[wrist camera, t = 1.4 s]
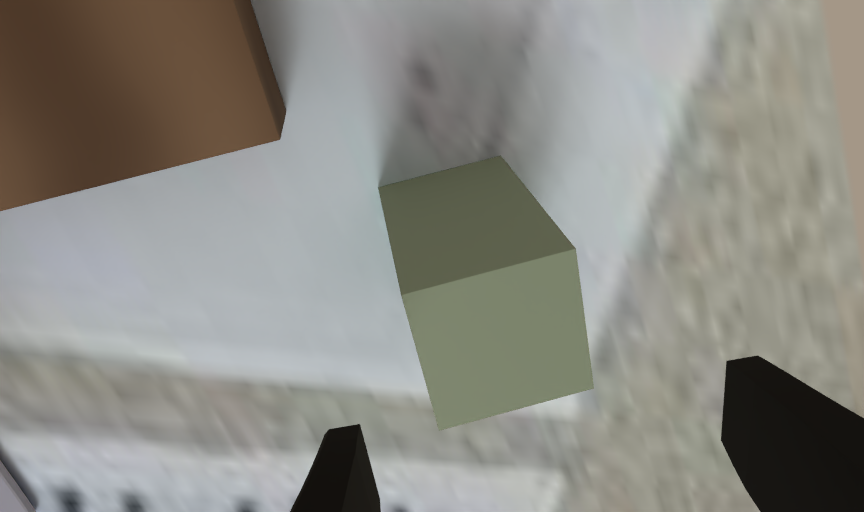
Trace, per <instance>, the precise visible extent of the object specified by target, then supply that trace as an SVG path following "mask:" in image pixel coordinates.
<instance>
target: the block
mask: <svg viewBox="0 0 864 512" xmlns="http://www.w3.org/2000/svg"><path fill="white" fill-rule="evenodd" d="M378 189H379V194H380V198H381V203H382V208H383V212H384V217H385V222H386V226H387V231H388V236H389V240H390V245H391V250H392V254H393V259H394V264H395V268H396V273H397V278H398V282H399V287H400V291H401V296H402V299H403V303H404V307H405V310H406V314H407V317H408V321H409V325H410V328H411V332H412V335H413V339H414V343H415V346H416V350H417V353H418V357H419V360H420V364H421V368H422V371H423V375H424V378H425V382H426V386H427V389H428V393H429V396H430V400H431V404H432V407H433V411H434V414H435V418H436V421H437V425H438V429H439V431H440V430H443V429H447V428H451V427H454V426H458V425H462V424H465V423H469V422H473V421H476V420H480V419H484V418H487V417H491V416H494V415H498V414H502V413H505V412H509V411H513V410H516V409H520V408H524V407H527V406H531V405H535V404H538V403H542V402H546V401H549V400H553V399H557V398H560V397H564V396H568V395H571V394H575V393H578V392H582V391H586V390H589V389H593V388H594V385H593V378H592V370H591V362H590V354H589V347H588V339H587V331H586V324H585V316H584V308H583V301H582V293H581V285H580V278H579V270H578V262H577V255H576V248H575V247H574V246H573V245H572V244H571V242H570V241H569V240H568V239H567V237H566V236H565V235H564V234H563V232H562V231H561V230H560V229H559V227H558V226H557V225H556V224H555V222H554V221H553V220H552V219H551V217H550V216H549V215H548V214H547V213H546V211H545V210H544V209H543V208H542V206H541V205H540V204H539V203H538V201H537V200H536V199H535V198H534V196H533V195H532V194H531V193H530V191H529V190H528V189H527V188H526V187H525V185H524V184H523V183H522V182H521V180H520V179H519V178H518V177H517V175H516V174H515V173H514V172H513V170H512V169H511V168H510V167H509V165H508V164H507V163H506V162H505V161H504V159H503V158H502V157H501V156H497V157H494V158H490V159H486V160H482V161H478V162H474V163H470V164H467V165H463V166H459V167H455V168H451V169H447V170H443V171H440V172H436V173H432V174H428V175H424V176H420V177H417V178H413V179H409V180H405V181H401V182H397V183H393V184H390V185H386V186H382V187H378Z"/></svg>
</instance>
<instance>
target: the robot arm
mask: <svg viewBox="0 0 864 512" xmlns="http://www.w3.org/2000/svg"><path fill="white" fill-rule="evenodd" d="M721 441H722V443H723V445H724V447H725V449H726V451H727V453H728V456H729V458H730V460H731V462H732V464H733V466H734V468H735V470H736V472H737V474H738V475H739V477H740V479H741V481H742V483H743V485H744V487H745V489H746V490H747V492H748V493H749V495H750V496H751V498H752V500H753V501H754V503H755V504H756V506H757V507H758V509H759V510H760V512H864V418H862V417H860V416H859V415H857V414H855V413H854V412H852V411H850V410H848V409H847V408H845V407H843V406H841V405H840V404H838V403H836V402H835V401H833V400H831V399H830V398H828V397H826V396H825V395H823V394H821V393H820V392H818V391H816V390H815V389H813V388H811V387H810V386H808V385H806V384H805V383H803V382H801V381H800V380H798V379H797V378H795V377H793V376H792V375H790V374H788V373H787V372H785V371H783V370H782V369H780V368H778V367H777V366H775V365H773V364H772V363H770V362H768V361H766V360H765V359H763V358H761V357H759V356H753V357H747V358H741V359H735V360H730V361H727V363H726V377H725V392H724V406H723V420H722V434H721ZM0 512H36V511H35V509H34V507H33V506H32V505H31V503H30V502H29V500H28V499H27V497H26V496H25V495H24V493H23V492H22V490H21V489H20V487H19V486H18V485H17V483H16V482H15V480H14V479H13V478H12V476H11V475H10V473H9V472H8V470H7V469H6V468H5V466H4V465H3V463H2V462H1V460H0ZM290 512H381V510H380V498H379V494H378V490H377V487H376V483H375V479H374V475H373V472H372V468H371V464H370V460H369V457H368V453H367V449H366V445H365V442H364V438H363V434H362V430H361V427H360V424H358V425H352V426H346V427H340V428H334V429H329V430H328V431H327V432H326V434H325V435H324V438H323V440H322V443H321V445H320V448H319V450H318V453H317V455H316V458H315V460H314V462H313V465H312V467H311V469H310V471H309V474H308V476H307V478H306V480H305V482H304V485H303V487H302V489H301V491H300V493H299V495H298V497H297V499H296V501H295V503H294V505H293V507H292V509H291V511H290Z"/></svg>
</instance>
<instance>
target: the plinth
mask: <svg viewBox="0 0 864 512" xmlns="http://www.w3.org/2000/svg"><path fill="white" fill-rule="evenodd" d="M285 115H286V109H285V106H284V103H283V100H282V97H281V94H280V91H279V88H278V84H277V81H276V78H275V75H274V72H273V69H272V66H271V63H270V60H269V57H268V54H267V51H266V47H265V44H264V41H263V38H262V35H261V32H260V29H259V26H258V23H257V20H256V17H255V14H254V10H253V7H252V4H251V1H250V0H0V211H3V210H7V209H11V208H15V207H18V206H22V205H26V204H30V203H34V202H38V201H42V200H46V199H50V198H54V197H58V196H61V195H65V194H69V193H73V192H77V191H81V190H85V189H89V188H93V187H97V186H101V185H104V184H108V183H112V182H116V181H120V180H124V179H128V178H132V177H136V176H140V175H144V174H147V173H151V172H155V171H159V170H163V169H167V168H171V167H175V166H179V165H183V164H187V163H191V162H194V161H198V160H202V159H206V158H210V157H214V156H218V155H222V154H226V153H230V152H234V151H237V150H241V149H245V148H249V147H253V146H257V145H261V144H265V143H269V142H273V141H277V140H280V138H281V133H282V129H283V124H284V120H285Z"/></svg>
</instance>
